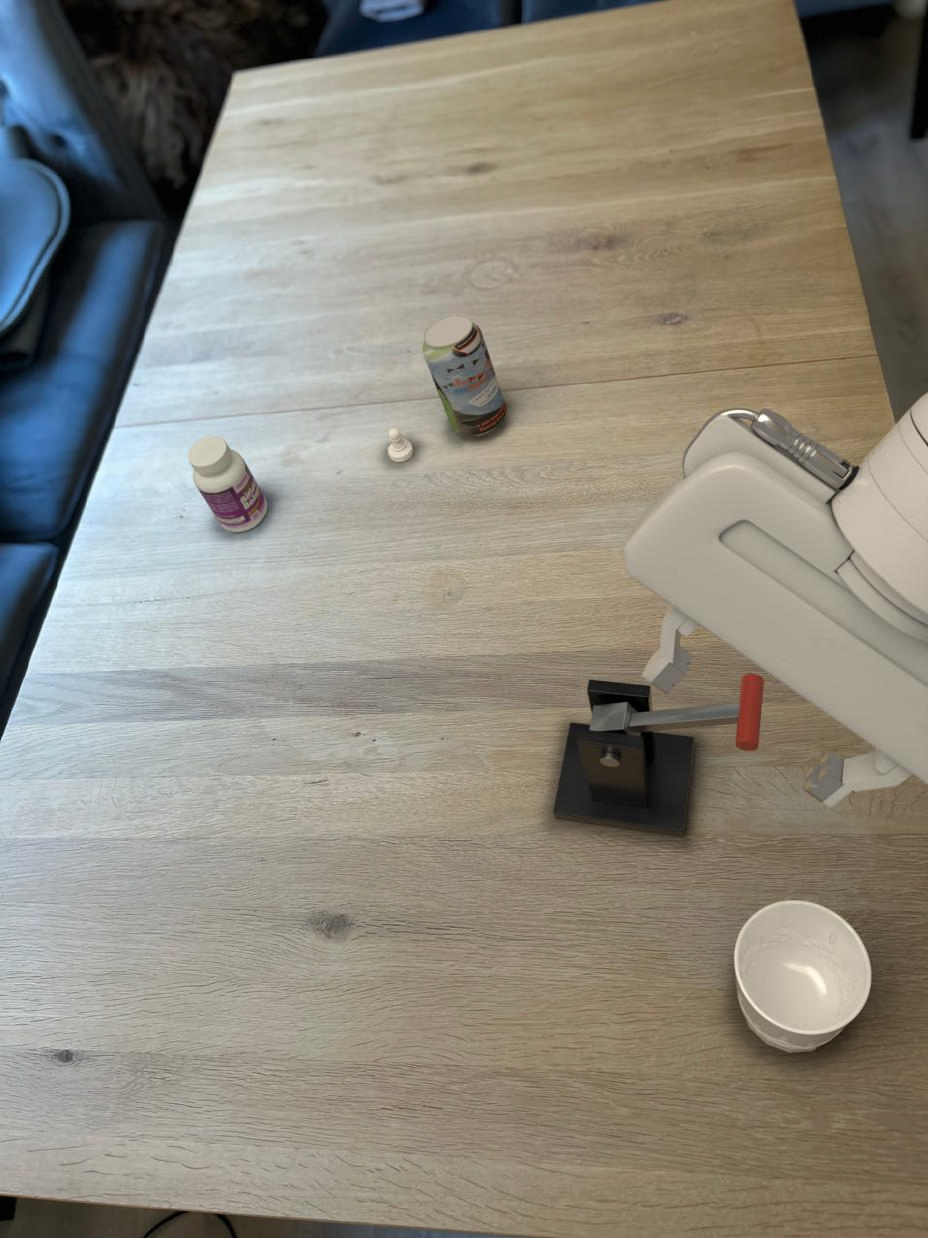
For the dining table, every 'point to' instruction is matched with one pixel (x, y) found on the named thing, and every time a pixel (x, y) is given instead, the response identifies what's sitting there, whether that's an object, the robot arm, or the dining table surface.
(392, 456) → the chess pawn
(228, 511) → the pill bottle
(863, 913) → the dining table surface
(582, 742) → the switch bracket
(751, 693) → the power lever
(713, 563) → the robot arm
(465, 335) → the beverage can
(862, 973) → the white cup
